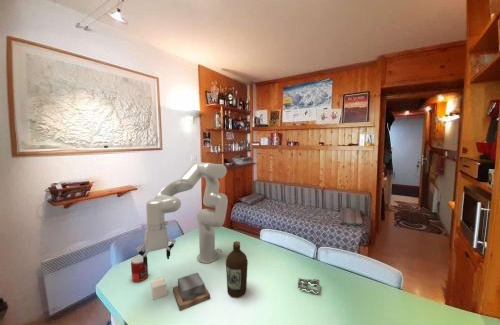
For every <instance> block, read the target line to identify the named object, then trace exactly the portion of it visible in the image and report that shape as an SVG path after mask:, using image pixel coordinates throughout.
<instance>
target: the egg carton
mask: <svg viewBox="0 0 500 325" xmlns="http://www.w3.org/2000/svg"><path fill="white" fill-rule="evenodd" d="M301 281H303V282H304V283H301ZM308 282H310V283H311V284H317V285H318V286H316V289H315V288H314V287H312V286H310V287H308V285H309V284H308ZM298 288H300V290H302V289H306V290H307V291H310V290H313V291H314V292H315V293H317V292H319V293H320V288H321V284H320V279H318V278H313V279H311V278H310V279H309V278H301V277H298V280H297V289H298ZM313 288H314V289H313ZM300 290H299V291H300Z"/></svg>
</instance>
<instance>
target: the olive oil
mask: <svg viewBox="0 0 500 325" xmlns="http://www.w3.org/2000/svg"><path fill="white" fill-rule="evenodd" d="M232 247H233V248H232V250H231V251H230V252H229V254H228V255H227V256H226V259H225V267H226V268H225V271H226V273H225V274H226V291H227V295H228V296H230V297H232V298H236V299H238V298H241V297H243V296H245V294H246V293H247V287H248V286H247V285H248V284H247V282H248V281H247V280H248V265H249V264H248V263H249V262H248V258H247V255H246V253H244V251H242V250H241V242H240V241H237V240H236V241H233V245H232Z"/></svg>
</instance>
